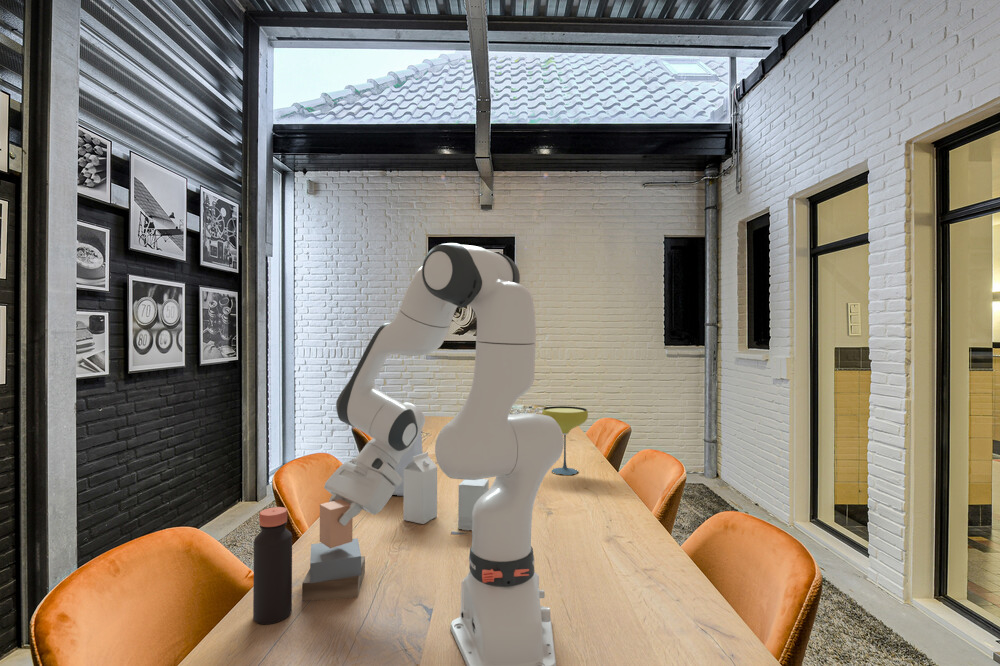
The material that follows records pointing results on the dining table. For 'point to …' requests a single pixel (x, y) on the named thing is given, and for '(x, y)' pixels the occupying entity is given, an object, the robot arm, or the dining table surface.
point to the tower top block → (335, 561)
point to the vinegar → (272, 568)
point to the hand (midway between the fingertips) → (333, 519)
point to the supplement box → (469, 500)
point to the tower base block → (333, 587)
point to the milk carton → (420, 490)
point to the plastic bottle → (407, 463)
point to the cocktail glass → (566, 427)
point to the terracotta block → (334, 524)
